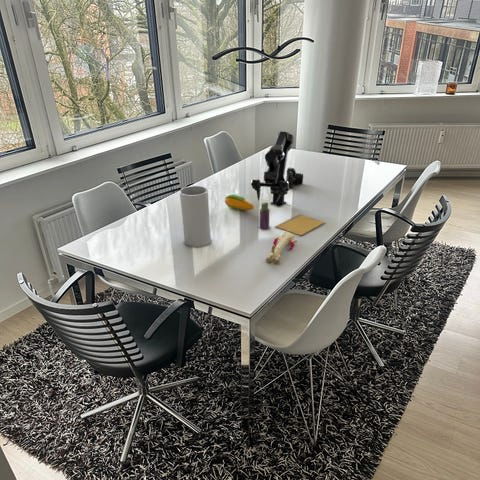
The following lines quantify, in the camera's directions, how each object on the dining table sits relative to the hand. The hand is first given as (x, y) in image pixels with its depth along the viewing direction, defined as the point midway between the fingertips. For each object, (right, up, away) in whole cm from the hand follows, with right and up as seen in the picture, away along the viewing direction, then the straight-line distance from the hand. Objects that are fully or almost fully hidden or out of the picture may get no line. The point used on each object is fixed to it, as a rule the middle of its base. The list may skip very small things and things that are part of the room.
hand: (267, 201), depth 227 cm
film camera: (+20, +24, +55) cm, 63 cm away
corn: (-14, +1, +23) cm, 27 cm away
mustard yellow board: (+17, -11, +4) cm, 21 cm away
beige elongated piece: (+6, -28, -19) cm, 34 cm away
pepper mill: (-1, -13, +3) cm, 13 cm away
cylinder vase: (-34, -22, -9) cm, 41 cm away
